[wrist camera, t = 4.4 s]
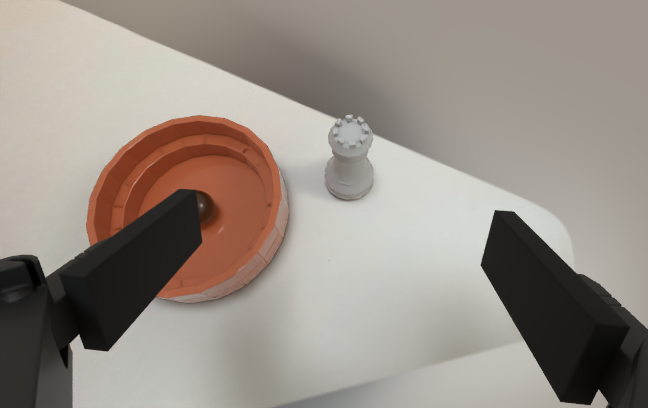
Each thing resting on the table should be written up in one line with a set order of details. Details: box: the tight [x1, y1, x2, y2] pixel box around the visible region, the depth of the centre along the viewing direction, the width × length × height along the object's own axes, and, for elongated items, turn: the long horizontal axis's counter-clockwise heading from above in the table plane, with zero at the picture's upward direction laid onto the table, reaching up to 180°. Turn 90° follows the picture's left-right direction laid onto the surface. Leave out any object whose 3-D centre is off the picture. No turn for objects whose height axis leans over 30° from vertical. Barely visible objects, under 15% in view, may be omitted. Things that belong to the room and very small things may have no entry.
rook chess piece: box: [325, 115, 374, 200], centre depth 27 cm, size 4×4×8 cm
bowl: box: [86, 115, 289, 303], centre depth 28 cm, size 15×15×4 cm
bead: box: [196, 190, 215, 225], centre depth 28 cm, size 3×3×3 cm
